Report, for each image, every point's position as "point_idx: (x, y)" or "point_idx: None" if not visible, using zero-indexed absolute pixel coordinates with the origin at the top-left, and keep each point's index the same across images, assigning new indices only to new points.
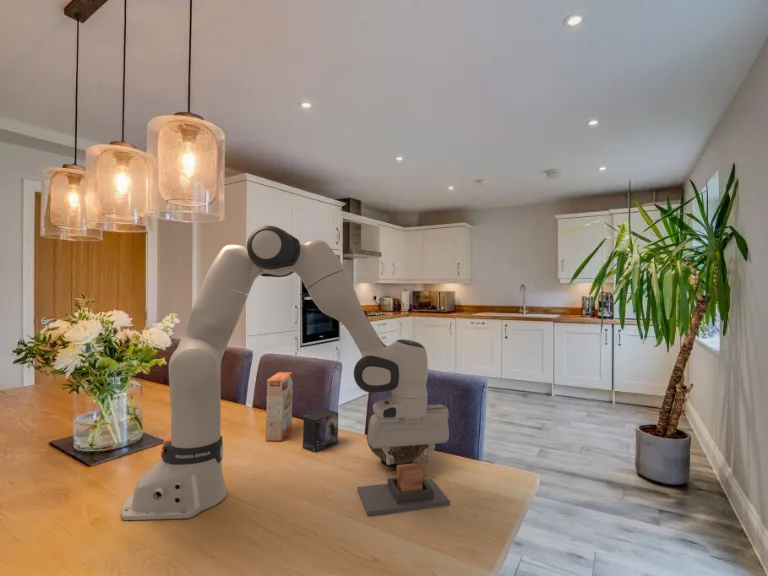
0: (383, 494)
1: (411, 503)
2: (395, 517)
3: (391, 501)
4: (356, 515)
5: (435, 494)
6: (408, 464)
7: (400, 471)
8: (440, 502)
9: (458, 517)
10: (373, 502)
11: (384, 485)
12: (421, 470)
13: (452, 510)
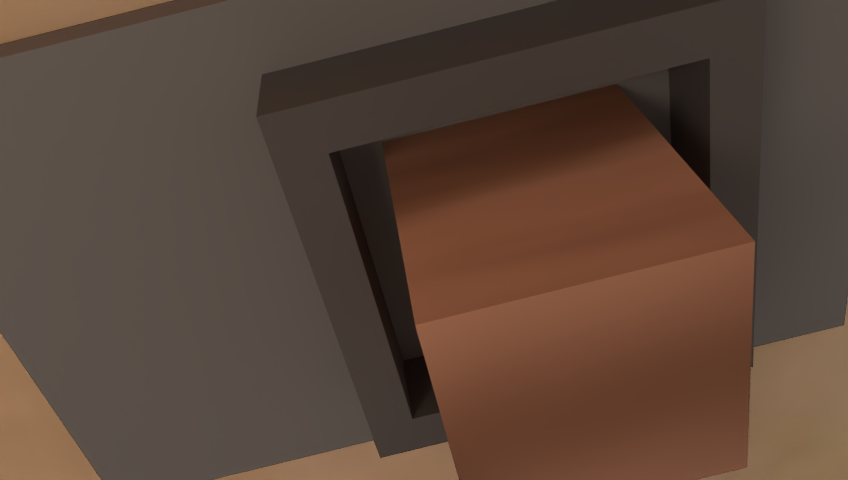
0: (228, 254)
1: None
2: (352, 467)
3: (319, 367)
4: (29, 470)
5: (769, 237)
6: (617, 289)
7: (453, 454)
8: (756, 343)
9: (802, 434)
10: (144, 387)
11: (218, 52)
12: (746, 446)
13: (805, 365)
